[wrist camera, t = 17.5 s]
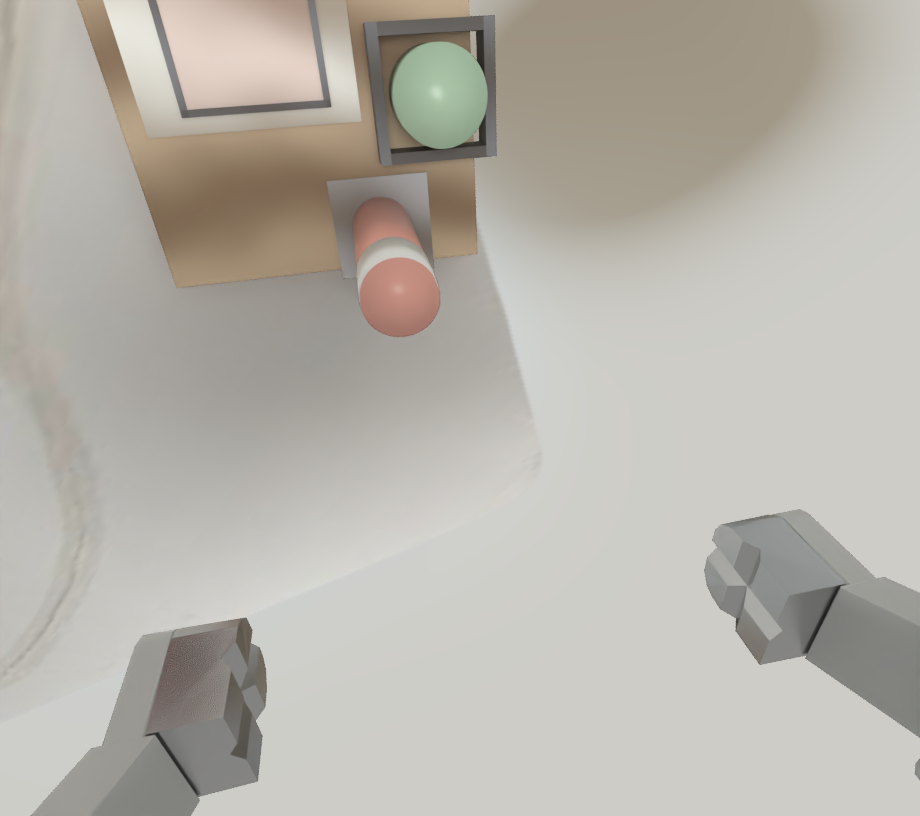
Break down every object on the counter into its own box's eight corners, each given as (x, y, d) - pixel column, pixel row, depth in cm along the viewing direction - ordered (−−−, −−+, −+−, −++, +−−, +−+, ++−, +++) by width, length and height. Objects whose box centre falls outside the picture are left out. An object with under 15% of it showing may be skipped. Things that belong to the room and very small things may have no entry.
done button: (474, 136, 28) (488, 145, 25) (393, 143, 27) (400, 152, 25) (471, 39, 25) (486, 38, 23) (383, 45, 25) (389, 44, 22)
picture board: (486, 254, 32) (498, 269, 30) (184, 288, 30) (173, 308, 28) (473, -278, 21) (490, -316, 19) (-11, -287, 19) (-56, -331, 17)
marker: (390, 266, 30) (411, 351, 22) (340, 234, 29) (343, 312, 21) (422, 219, 29) (457, 289, 21) (372, 183, 28) (388, 243, 20)
